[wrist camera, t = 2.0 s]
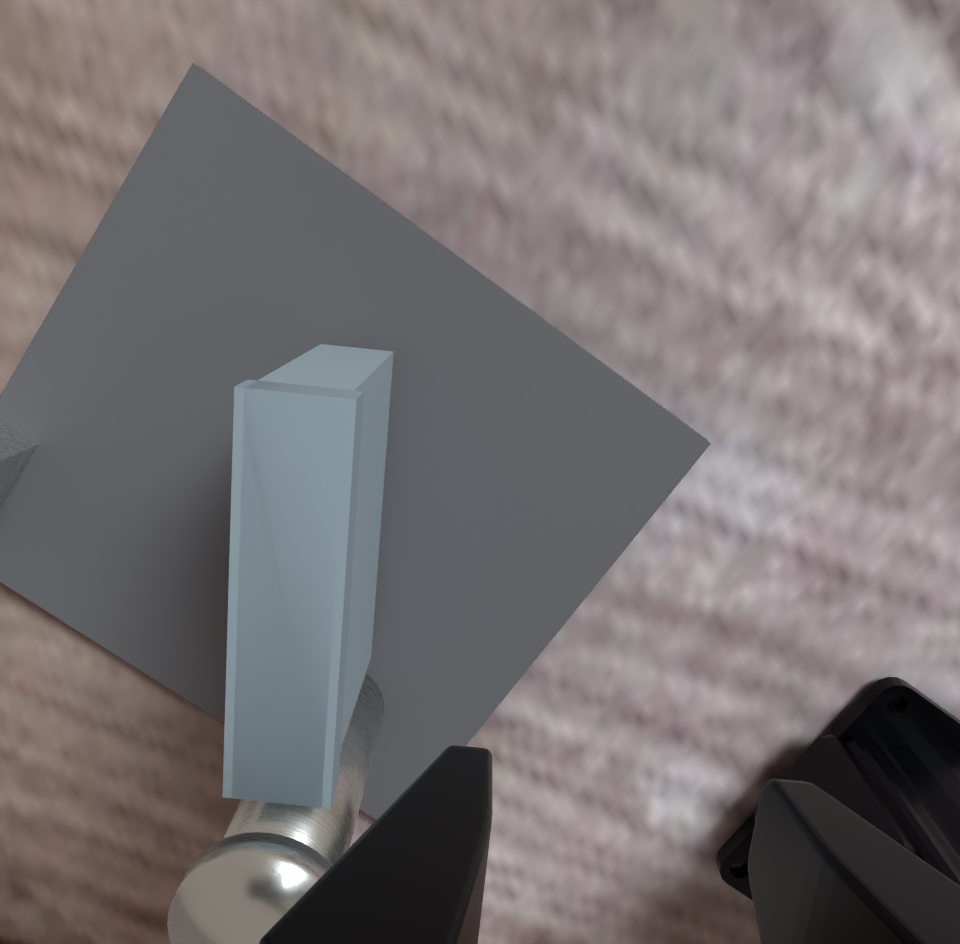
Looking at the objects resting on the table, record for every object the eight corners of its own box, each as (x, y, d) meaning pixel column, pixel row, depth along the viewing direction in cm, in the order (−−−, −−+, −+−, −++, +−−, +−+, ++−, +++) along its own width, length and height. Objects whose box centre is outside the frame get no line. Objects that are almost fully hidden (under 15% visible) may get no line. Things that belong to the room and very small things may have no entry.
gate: (377, 658, 20) (330, 808, 15) (298, 650, 20) (222, 797, 15) (400, 351, 18) (356, 399, 13) (313, 343, 18) (234, 387, 13)
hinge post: (422, 685, 21) (377, 919, 14) (358, 768, 22) (282, 1033, 15) (324, 620, 21) (226, 825, 14) (261, 706, 22) (135, 946, 14)
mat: (705, 439, 20) (710, 443, 19) (397, 819, 22) (395, 832, 22) (200, 67, 18) (192, 62, 18) (-65, 525, 21) (-79, 532, 20)
